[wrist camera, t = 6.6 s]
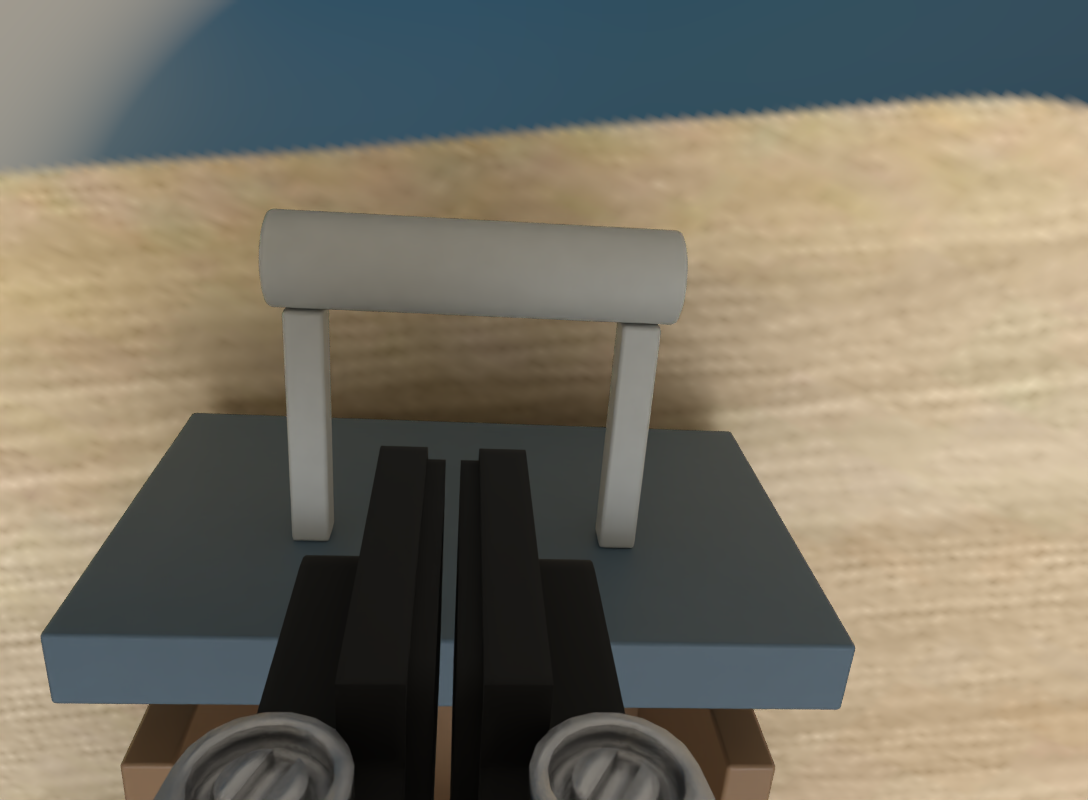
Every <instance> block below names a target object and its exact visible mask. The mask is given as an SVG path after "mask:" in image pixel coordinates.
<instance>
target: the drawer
mask: <svg viewBox="0 0 1088 800" xmlns="http://www.w3.org/2000/svg"><path fill="white" fill-rule="evenodd" d="M259 274H260V283H261V289H262V293H263V296H264V299H265V301H266V303H267V304H268V305H269V306H272V307H286V308H285V309H284V311H283V313H282V325H283V347H284V368H285V390H286V412H287V416H266V415H237V414H208V413H194V414H192V416H191V417H190V418H189V420H188V421H187V423H186V424H185V426H184V427H183V429H182V430H181V432H180V433H179V434H178V436H177V437H176V439H175V440H174V442H173V443H172V445H171V446H170V448H169V449H168V450H167V452H166V453H165V455H164V456H163V458H162V459H161V461H160V462H159V464H158V465H157V466H156V468H155V469H154V471H153V472H152V474H151V475H150V477H149V478H148V480H147V481H146V482H145V484H144V485H143V487H142V488H141V490H140V491H139V493H138V494H137V496H136V497H135V498H134V500H133V501H132V503H131V504H130V506H129V507H128V509H127V510H126V512H125V513H124V514H123V516H122V517H121V519H120V520H119V522H118V523H117V525H116V526H115V527H114V529H113V530H112V532H111V533H110V535H109V536H108V538H107V539H106V541H105V542H104V543H103V545H102V546H101V548H100V549H99V551H98V552H97V554H96V555H95V557H94V558H93V559H92V561H91V562H90V564H89V565H88V567H87V568H86V570H85V571H84V573H83V574H82V575H81V577H80V578H79V580H78V581H77V583H76V584H75V586H74V587H73V589H72V590H71V591H70V593H69V594H68V596H67V597H66V599H65V600H64V602H63V603H62V605H61V606H60V607H59V609H58V610H57V612H56V613H55V615H54V616H53V618H52V619H51V621H50V622H49V623H48V625H47V626H46V628H45V629H44V631H43V632H42V634H41V643H42V648H43V654H44V659H45V665H46V670H47V676H48V681H49V687H50V692H51V698H52V701H53V702H54V703H89V704H149V706H148V708H147V710H146V712H145V714H144V716H143V718H142V721H141V723H140V725H139V727H138V729H137V731H136V733H135V736H134V738H133V740H132V742H131V744H130V746H129V748H128V751H127V753H126V755H125V757H124V759H123V761H122V763H121V771H122V778H123V785H124V791H125V798H126V800H153V799H154V798H155V796H156V794H157V792H158V791H159V789H160V787H161V785H162V784H163V782H164V780H165V779H166V777H167V775H168V773H169V772H170V770H171V768H172V767H173V765H174V764H175V763H176V762H177V760H178V759H179V758H180V757H181V755H182V754H183V753H184V752H185V750H186V749H187V748H188V747H189V746H190V745H191V744H193V743H194V742H195V741H197V740H198V739H199V738H201V737H202V736H203V735H205V734H206V733H207V732H209V731H210V730H212V729H214V728H216V727H219V726H221V725H223V724H225V723H228V722H230V721H232V720H234V719H237V718H241V717H245V716H250V715H254V714H257V711H258V708H259V704H260V701H261V697H262V694H263V691H264V687H265V684H266V680H267V677H268V673H269V670H270V666H271V663H272V660H273V656H274V653H275V649H276V646H277V642H278V639H279V636H280V632H281V629H282V625H283V622H284V618H285V615H286V611H287V608H288V605H289V601H290V598H291V594H292V591H293V587H294V584H295V581H296V577H297V574H298V570H299V567H300V564H301V561H302V559H303V557H304V556H305V555H337V556H359V555H360V550H361V544H362V539H363V534H364V529H365V524H366V518H367V513H368V508H369V503H370V498H371V492H372V487H373V482H374V477H375V472H376V467H377V461H378V456H379V451H380V447H381V446H412V447H428V459H443V460H446V473H445V508H444V542H443V577H442V611H441V645H440V673H439V696H438V719H437V742H436V764H435V787H434V800H450V778H451V737H452V697H453V659H454V630H455V603H456V576H457V548H458V521H459V494H460V467H461V460H478V459H479V448H484V449H519V450H526V456H527V464H528V473H529V481H530V490H531V498H532V506H533V515H534V523H535V532H536V540H537V549H538V557H539V559H577V560H591V561H592V562H593V565H594V569H595V573H596V578H597V582H598V587H599V592H600V597H601V601H602V606H603V611H604V615H605V620H606V625H607V630H608V634H609V639H610V644H611V649H612V653H613V658H614V663H615V667H616V672H617V677H618V682H619V686H620V691H621V696H622V701H623V705H624V710H625V714H626V715H631V716H635V717H639V718H643V719H645V720H647V721H650V722H652V723H654V724H656V725H658V726H660V727H662V728H664V729H666V730H667V731H669V732H670V733H671V734H672V735H673V736H675V737H676V738H677V739H678V740H679V741H681V742H682V743H683V744H684V745H685V746H686V747H687V748H688V750H689V751H690V753H691V754H692V756H693V757H694V758H695V760H696V761H697V763H698V764H699V766H700V768H701V770H702V772H703V774H704V776H705V779H706V781H707V783H708V785H709V787H710V789H711V791H712V793H713V795H714V797H715V799H716V800H768V798H769V793H770V789H771V784H772V780H773V775H774V771H775V765H774V762H773V759H772V757H771V754H770V752H769V749H768V746H767V744H766V741H765V739H764V736H763V734H762V731H761V728H760V726H759V723H758V721H757V718H756V715H755V713H754V710H753V709H832V710H837V709H839V708H840V707H841V703H842V699H843V695H844V691H845V687H846V683H847V679H848V675H849V672H850V668H851V664H852V660H853V656H854V652H855V646H854V643H853V642H852V640H851V638H850V637H849V635H848V633H847V631H846V630H845V628H844V626H843V625H842V623H841V621H840V619H839V618H838V616H837V614H836V612H835V611H834V609H833V607H832V606H831V604H830V602H829V600H828V599H827V597H826V595H825V594H824V592H823V590H822V588H821V587H820V585H819V583H818V581H817V580H816V578H815V576H814V575H813V573H812V571H811V569H810V568H809V566H808V564H807V563H806V561H805V559H804V557H803V556H802V554H801V552H800V551H799V549H798V547H797V545H796V544H795V542H794V540H793V538H792V537H791V535H790V533H789V532H788V530H787V528H786V526H785V525H784V523H783V521H782V520H781V518H780V516H779V514H778V513H777V511H776V509H775V507H774V506H773V504H772V502H771V501H770V499H769V497H768V495H767V494H766V492H765V490H764V489H763V487H762V485H761V483H760V482H759V480H758V478H757V476H756V475H755V473H754V471H753V470H752V468H751V466H750V464H749V463H748V461H747V459H746V458H745V456H744V454H743V452H742V451H741V449H740V447H739V445H738V444H737V442H736V440H735V439H734V437H733V435H732V433H731V432H725V431H696V430H668V429H649V422H650V415H651V407H652V399H653V391H654V383H655V375H656V367H657V359H658V351H659V343H660V335H661V330H660V327H659V325H658V324H667V325H671V324H674V323H676V322H677V320H678V318H679V316H680V314H681V311H682V308H683V304H684V300H685V294H686V287H687V274H688V258H687V248H686V243H685V239H684V236H683V234H682V233H681V232H679V231H676V230H657V229H639V228H620V227H602V226H583V225H565V224H546V223H528V222H509V221H491V220H472V219H454V218H435V217H417V216H398V215H380V214H361V213H343V212H324V211H305V210H287V209H271V210H269V211H267V213H266V215H265V217H264V220H263V224H262V228H261V234H260V243H259ZM329 309H333V310H355V311H378V312H400V313H422V314H444V315H467V316H489V317H511V318H533V319H556V320H578V321H600V322H617V328H616V338H615V347H614V357H613V366H612V376H611V385H610V395H609V404H608V414H607V423H606V427H581V426H553V425H524V424H495V423H467V422H438V421H409V420H381V419H352V418H331V378H330V338H329Z"/></svg>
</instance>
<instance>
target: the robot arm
mask: <svg viewBox="0 0 1088 800" xmlns="http://www.w3.org/2000/svg"><path fill="white" fill-rule="evenodd" d="M445 473H446V460H443V459H428V447H412V446H381V447H380V451H379V456H378V461H377V467H376V472H375V477H374V482H373V487H372V492H371V498H370V503H369V508H368V513H367V518H366V524H365V529H364V534H363V539H362V544H361V550H360V555H359V556H337V555H305V556H304V557H303V559H302V561H301V564H300V567H299V570H298V574H297V577H296V581H295V584H294V587H293V591H292V594H291V598H290V601H289V605H288V608H287V611H286V615H285V618H284V622H283V625H282V629H281V632H280V636H279V639H278V642H277V646H276V649H275V653H274V656H273V660H272V663H271V666H270V670H269V673H268V677H267V680H266V684H265V687H264V691H263V694H262V697H261V701H260V704H259V708H258V711H257V714H254V715H250V716H245V717H241V718H237V719H234V720H232V721H230V722H228V723H225V724H223V725H221V726H219V727H216V728H214V729H212V730H210V731H209V732H207V733H206V734H205V735H203V736H202V737H201V738H199V739H198V740H197V741H195V742H194V743H193V744H191V745H190V746H189V747H188V748H187V749H186V750H185V752H184V753H183V754H182V755H181V757H180V758H179V759H178V760H177V762H176V763H175V764H174V765H173V767H172V768H171V770H170V772H169V773H168V775H167V777H166V779H165V780H164V782H163V784H162V785H161V787H160V789H159V791H158V792H157V794H156V796H155V798H154V799H153V800H434V787H435V764H436V742H437V719H438V696H439V673H440V645H441V611H442V577H443V542H444V508H445ZM450 800H716V799H715V797H714V795H713V793H712V791H711V789H710V787H709V785H708V783H707V781H706V779H705V776H704V774H703V772H702V770H701V768H700V766H699V764H698V763H697V761H696V760H695V758H694V757H693V756H692V754H691V753H690V751H689V750H688V748H687V747H686V746H685V745H684V744H683V743H682V742H681V741H679V740H678V739H677V738H676V737H675V736H673V735H672V734H671V733H670V732H669V731H667V730H666V729H664V728H662V727H660V726H658V725H656V724H654V723H652V722H650V721H647V720H645V719H643V718H639V717H635V716H631V715H626V714H625V710H624V705H623V701H622V696H621V691H620V686H619V682H618V677H617V672H616V667H615V663H614V658H613V653H612V649H611V644H610V639H609V634H608V630H607V625H606V620H605V615H604V611H603V606H602V601H601V597H600V592H599V587H598V582H597V578H596V573H595V569H594V565H593V562H592V561H591V560H577V559H539V557H538V549H537V540H536V532H535V523H534V515H533V506H532V498H531V490H530V481H529V473H528V464H527V456H526V450H519V449H484V448H479V459H478V460H461V467H460V494H459V521H458V548H457V576H456V603H455V630H454V659H453V697H452V737H451V778H450Z"/></svg>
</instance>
